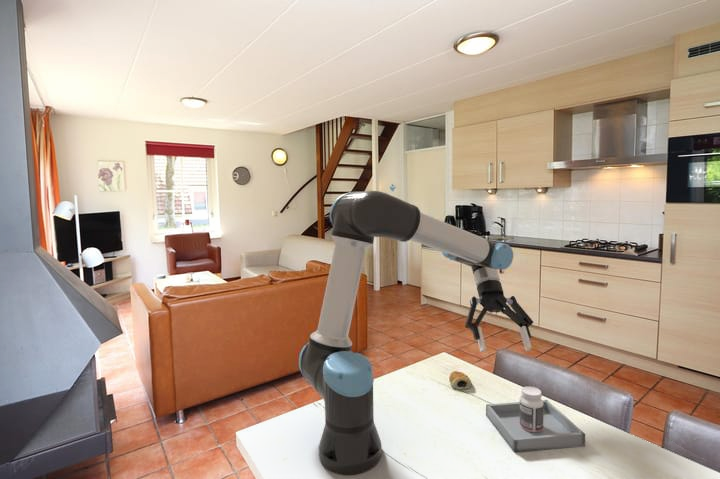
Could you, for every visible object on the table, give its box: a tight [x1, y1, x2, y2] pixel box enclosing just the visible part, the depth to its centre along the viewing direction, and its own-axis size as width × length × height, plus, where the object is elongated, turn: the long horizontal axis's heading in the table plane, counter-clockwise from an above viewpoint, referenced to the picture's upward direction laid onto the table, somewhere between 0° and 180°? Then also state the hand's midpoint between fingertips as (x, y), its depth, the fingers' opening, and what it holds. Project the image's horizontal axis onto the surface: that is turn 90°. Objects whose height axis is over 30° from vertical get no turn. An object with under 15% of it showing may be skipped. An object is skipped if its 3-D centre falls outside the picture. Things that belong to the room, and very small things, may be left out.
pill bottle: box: [519, 386, 544, 432], centre depth 99 cm, size 6×6×10 cm
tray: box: [485, 399, 586, 454], centre depth 100 cm, size 18×16×3 cm
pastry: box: [448, 370, 472, 390], centre depth 126 cm, size 9×7×4 cm
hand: (506, 349), depth 109 cm, fingers open, 13 cm apart
